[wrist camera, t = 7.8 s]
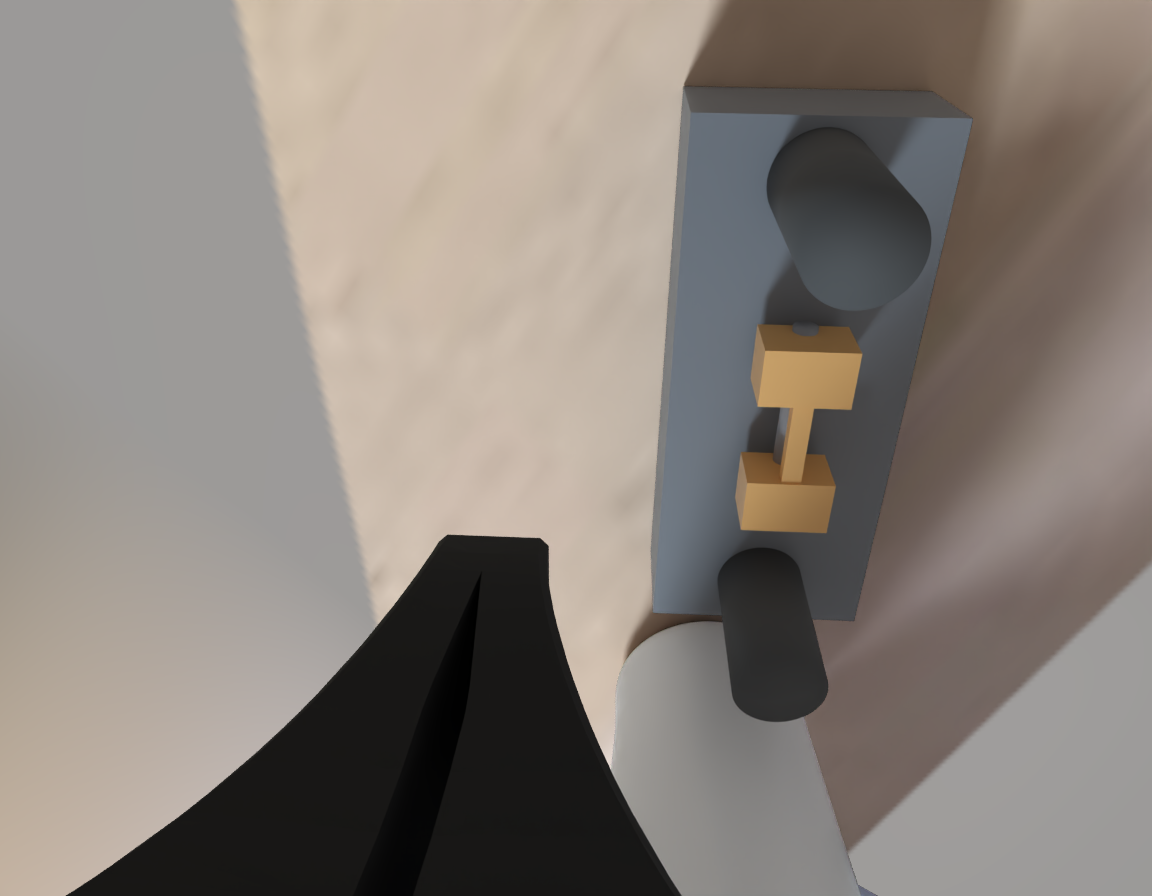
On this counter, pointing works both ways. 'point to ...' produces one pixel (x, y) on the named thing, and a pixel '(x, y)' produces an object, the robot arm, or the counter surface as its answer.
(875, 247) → the cord plug front
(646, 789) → the drinking glass
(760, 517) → the tan wooden dumbbell piece
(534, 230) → the counter surface
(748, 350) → the grey base plate
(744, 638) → the cord plug back
